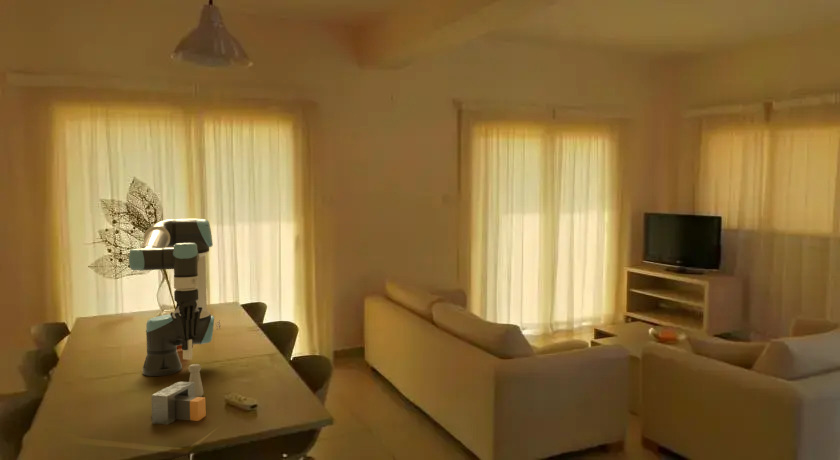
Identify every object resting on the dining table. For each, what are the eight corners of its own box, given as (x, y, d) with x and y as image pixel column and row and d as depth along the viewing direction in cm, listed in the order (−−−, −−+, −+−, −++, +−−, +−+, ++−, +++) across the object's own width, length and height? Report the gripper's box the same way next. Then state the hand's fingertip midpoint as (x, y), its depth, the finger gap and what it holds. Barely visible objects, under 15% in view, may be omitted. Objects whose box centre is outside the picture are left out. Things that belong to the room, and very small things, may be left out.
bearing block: (152, 423, 198) (151, 394, 198) (179, 407, 213) (179, 381, 213) (168, 424, 197) (167, 396, 197) (194, 409, 212) (194, 382, 211)
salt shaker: (189, 396, 225) (188, 362, 224) (205, 396, 225) (204, 362, 225) (184, 402, 219) (184, 366, 218) (201, 401, 220) (200, 366, 219)
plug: (153, 416, 204) (153, 398, 204) (162, 412, 209) (161, 393, 208) (198, 420, 201) (197, 401, 200) (205, 416, 205) (205, 397, 205)
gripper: (181, 292, 194) (183, 364, 195) (208, 287, 206) (209, 355, 207) (163, 291, 196) (164, 362, 197) (190, 286, 209) (191, 353, 210)
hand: (187, 358), depth 202 cm, fingers closed
